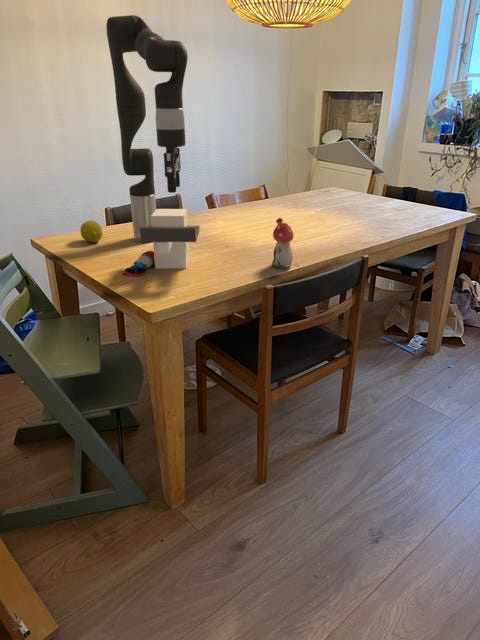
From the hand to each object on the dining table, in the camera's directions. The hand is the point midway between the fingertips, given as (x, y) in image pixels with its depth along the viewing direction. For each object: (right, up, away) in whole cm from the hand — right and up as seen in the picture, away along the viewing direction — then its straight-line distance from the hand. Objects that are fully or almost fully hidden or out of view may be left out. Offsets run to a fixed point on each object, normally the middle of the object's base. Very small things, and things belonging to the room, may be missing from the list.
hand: (174, 189), depth 133 cm
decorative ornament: (+32, -19, +23) cm, 44 cm away
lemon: (-38, -7, +49) cm, 62 cm away
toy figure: (-13, -21, +20) cm, 32 cm away
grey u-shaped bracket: (-2, -11, +11) cm, 16 cm away
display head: (-4, -20, +20) cm, 29 cm away
